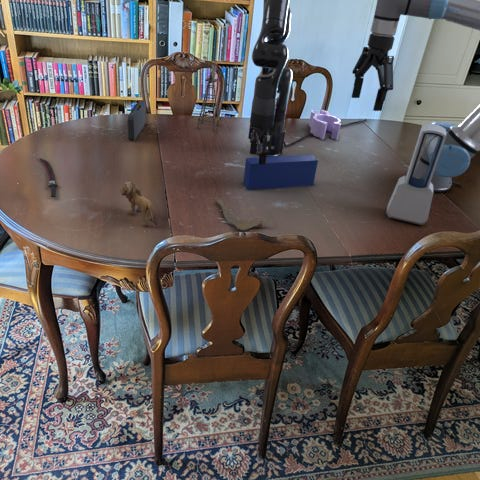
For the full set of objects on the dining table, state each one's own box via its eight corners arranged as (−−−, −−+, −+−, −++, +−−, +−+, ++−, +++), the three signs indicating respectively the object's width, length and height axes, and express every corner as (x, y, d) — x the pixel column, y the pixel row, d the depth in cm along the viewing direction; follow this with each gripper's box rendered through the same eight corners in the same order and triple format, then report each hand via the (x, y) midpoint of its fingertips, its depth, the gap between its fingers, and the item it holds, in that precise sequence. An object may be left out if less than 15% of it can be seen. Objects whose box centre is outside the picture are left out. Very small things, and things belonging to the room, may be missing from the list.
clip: (302, 123, 220) (305, 109, 217) (327, 124, 223) (330, 110, 219) (316, 139, 204) (319, 124, 200) (342, 140, 207) (346, 124, 203)
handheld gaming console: (139, 121, 202) (139, 98, 197) (146, 122, 202) (145, 99, 197) (127, 140, 183) (126, 115, 178) (134, 141, 183) (133, 116, 178)
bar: (247, 190, 157) (250, 163, 152) (243, 183, 161) (245, 157, 156) (313, 185, 165) (318, 160, 160) (307, 179, 169) (311, 154, 164)
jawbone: (250, 238, 132) (250, 232, 131) (198, 212, 143) (198, 206, 141) (269, 225, 138) (269, 219, 137) (218, 201, 148) (218, 195, 147)
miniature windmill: (214, 131, 201) (219, 58, 184) (195, 128, 202) (199, 55, 185) (219, 124, 208) (224, 54, 192) (201, 122, 209) (205, 51, 193)
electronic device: (425, 217, 152) (456, 128, 136) (425, 227, 146) (458, 136, 130) (386, 208, 155) (413, 120, 139) (385, 218, 149) (412, 127, 133)
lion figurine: (118, 210, 138) (116, 182, 133) (132, 204, 141) (131, 177, 137) (151, 229, 130) (150, 201, 126) (165, 223, 134) (165, 195, 129)
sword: (61, 197, 141) (61, 193, 140) (50, 198, 139) (50, 194, 139) (49, 160, 164) (48, 156, 163) (39, 160, 163) (39, 157, 162)
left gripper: (283, 117, 142) (275, 167, 150) (266, 103, 153) (260, 150, 161) (260, 118, 139) (253, 168, 148) (244, 103, 150) (239, 151, 159)
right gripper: (417, 43, 134) (397, 116, 145) (371, 27, 153) (356, 92, 164) (396, 42, 131) (377, 116, 143) (351, 26, 151) (337, 92, 162)
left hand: (257, 158), depth 155 cm, fingers open, 8 cm apart
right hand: (365, 103), depth 154 cm, fingers open, 13 cm apart
